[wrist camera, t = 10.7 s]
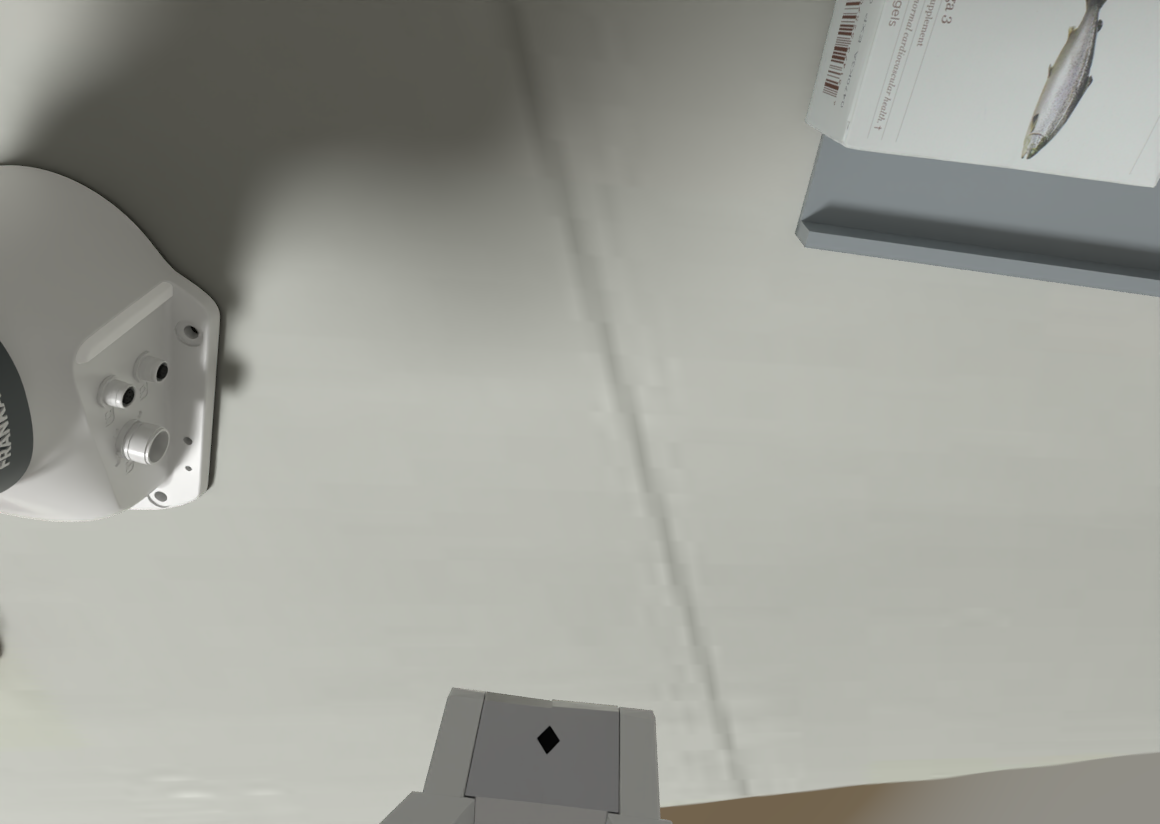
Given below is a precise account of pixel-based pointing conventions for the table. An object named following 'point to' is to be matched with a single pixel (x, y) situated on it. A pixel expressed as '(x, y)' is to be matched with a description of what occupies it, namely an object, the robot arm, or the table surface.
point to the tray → (983, 219)
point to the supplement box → (997, 84)
